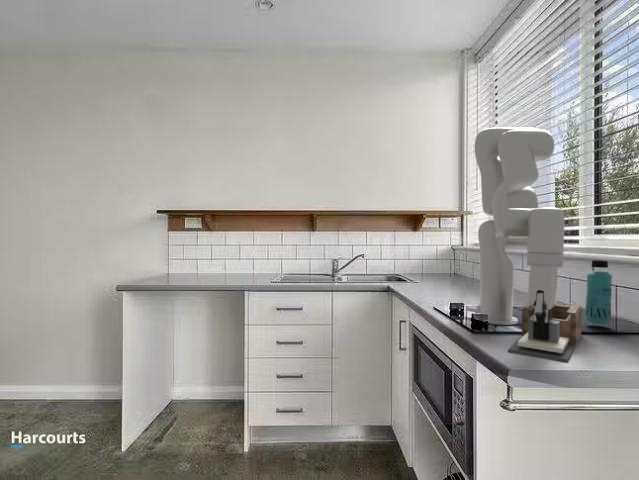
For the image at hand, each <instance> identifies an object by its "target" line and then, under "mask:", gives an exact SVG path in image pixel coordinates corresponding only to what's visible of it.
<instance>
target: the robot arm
mask: <svg viewBox="0 0 639 480" xmlns="http://www.w3.org/2000/svg"><path fill="white" fill-rule="evenodd" d="M474 140H475V141H474V157H475V160H476V164H477V166H478V169H479V173H480V187H481V188H480V189H481V204H482V205H481V207H482V211H483V213H485V215H487V216H492V217H493V219H489V220H485V221H483V222H482V223H481V224H480V225H479V227H478V230H477V231H478V232H477V238H478V244H479V251H480V269H479V271H480V274H479V275H480V276H479V281H480V282H479V285H480V286H479V304H476V305H473V304H466V307H465V309H466V311H467V312H470V313H471V312H472V313H475V314H477V313H481V314H487V315H488V321H489V324H491V325H499V326H510V325H511V326H512V325H517V324H518V322H519V320H518V318H517V317H515V316H513V312H514V311H513V308H514V307H513V305H514V303H513V302H514V272H515V271H514V270H515V269H514V263H513V261H512V259H511V257H510V256H509V255H508V254H507V253H506V252H507V251H508V252H509V251H512V252H514V251H516V252H518V251H519V252H526V266H527V267H530V269H529V277H528V278H529V279H528V289H527V290H528V292H527V305H526V306H528V307H529V308H532V307H533V306H535V312H534V324H533V338H534V339H540V340H549V323H548V320H550V319H552V308H553V307H554V306H555V305H557V304H556V302H557V293H558V292H557V291H558V268H564V245H565V244H564V241H565V238H564V237H565V212H564V210H562V208H558V207H539V199H538V196H537V193H536V191H535V190H534V189H533V188H532V187H531V186H533V184H534V183H536V181H537V180H538V179H539V174H540V173H539V170H538V166H537V162H536V161H546V160H548V159H550V157H551V156H553V153H554V149H555V140H554V136H553V135H552V134H551V132H550V131H548V130H546V129H540V128H537V127H536V128H535V127H501V126H500V127H490V128H489V127H488V128H484V129H482V130H480V131H478V133H477V134H476V136H475V139H474Z"/></svg>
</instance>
